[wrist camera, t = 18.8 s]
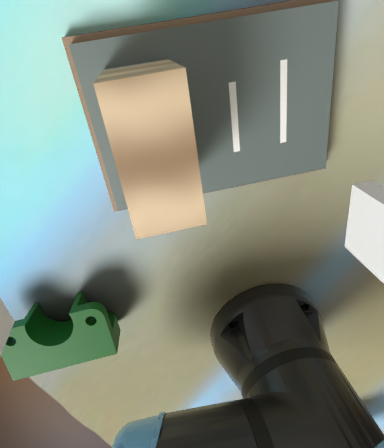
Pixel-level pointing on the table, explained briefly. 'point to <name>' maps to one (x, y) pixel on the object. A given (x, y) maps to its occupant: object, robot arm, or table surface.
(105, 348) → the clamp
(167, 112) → the wooden block
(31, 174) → the table surface
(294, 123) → the slate board
